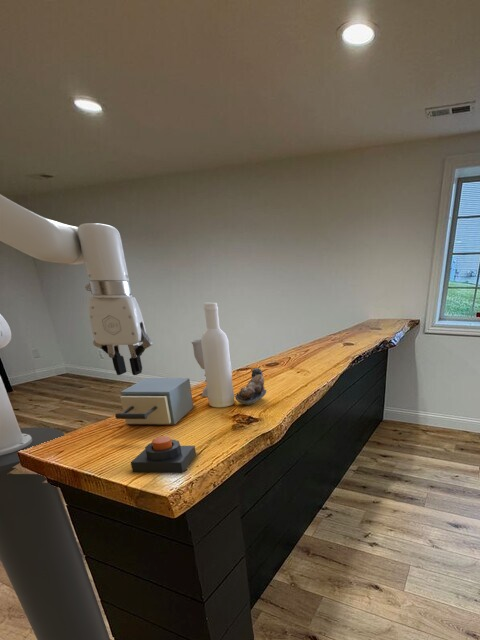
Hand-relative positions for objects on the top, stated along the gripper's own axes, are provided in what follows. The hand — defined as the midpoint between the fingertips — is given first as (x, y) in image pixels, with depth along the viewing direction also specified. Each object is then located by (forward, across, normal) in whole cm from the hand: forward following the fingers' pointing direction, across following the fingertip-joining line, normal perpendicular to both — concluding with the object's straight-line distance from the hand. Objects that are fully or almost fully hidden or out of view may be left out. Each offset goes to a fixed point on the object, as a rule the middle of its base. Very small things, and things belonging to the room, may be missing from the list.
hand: (129, 373), depth 82 cm
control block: (+15, +13, -17) cm, 26 cm away
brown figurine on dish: (+15, +23, +25) cm, 38 cm away
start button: (+12, +13, -17) cm, 24 cm away
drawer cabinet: (+15, 0, +12) cm, 20 cm away
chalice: (+15, +7, +33) cm, 37 cm away
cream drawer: (+14, 0, +7) cm, 16 cm away
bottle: (+15, +14, +23) cm, 31 cm away
